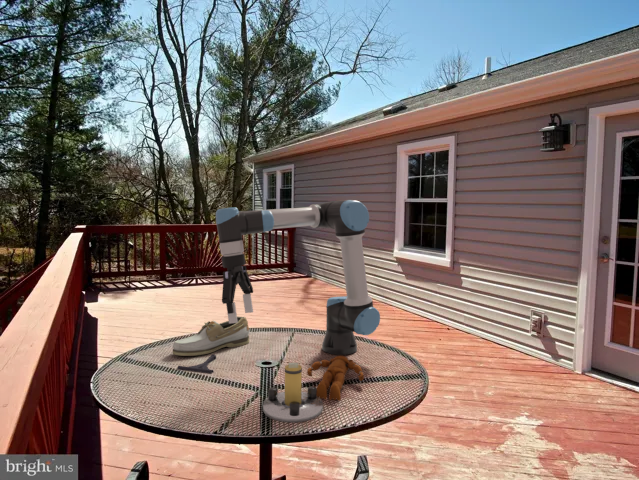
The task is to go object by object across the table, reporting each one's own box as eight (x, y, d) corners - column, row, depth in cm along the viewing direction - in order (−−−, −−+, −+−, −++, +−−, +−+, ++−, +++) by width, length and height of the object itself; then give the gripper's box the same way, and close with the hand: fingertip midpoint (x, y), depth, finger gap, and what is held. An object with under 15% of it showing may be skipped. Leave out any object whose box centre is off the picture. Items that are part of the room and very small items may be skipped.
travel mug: (301, 398, 132) (301, 360, 131) (302, 406, 126) (302, 366, 126) (284, 399, 131) (284, 360, 130) (284, 406, 126) (284, 367, 125)
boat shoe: (165, 354, 177) (165, 325, 177) (236, 337, 203) (236, 312, 202) (181, 362, 168) (181, 331, 167) (254, 343, 194) (254, 317, 193)
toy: (359, 406, 133) (368, 369, 162) (359, 385, 132) (368, 351, 162) (297, 400, 137) (317, 365, 166) (297, 379, 137) (317, 347, 166)
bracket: (230, 362, 170) (230, 355, 170) (211, 375, 156) (211, 367, 156) (199, 358, 174) (198, 352, 174) (177, 371, 160) (177, 363, 160)
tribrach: (319, 394, 139) (319, 381, 138) (326, 421, 121) (326, 405, 121) (263, 396, 137) (263, 382, 136) (262, 423, 119) (262, 407, 119)
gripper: (237, 251, 154) (245, 309, 155) (204, 260, 130) (214, 328, 131) (256, 249, 153) (264, 307, 154) (227, 257, 128) (237, 326, 129)
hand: (241, 317), depth 142 cm, fingers open, 13 cm apart
